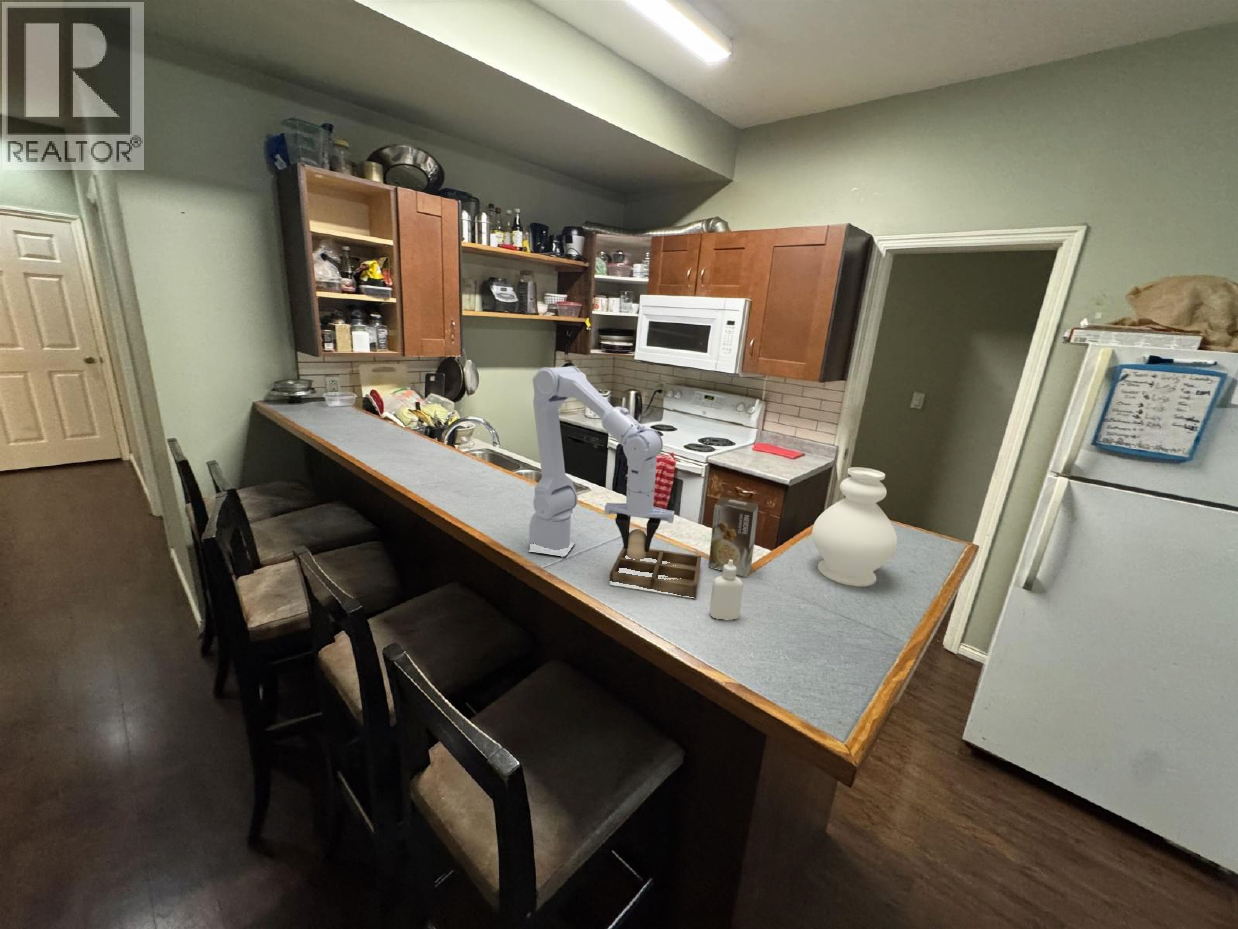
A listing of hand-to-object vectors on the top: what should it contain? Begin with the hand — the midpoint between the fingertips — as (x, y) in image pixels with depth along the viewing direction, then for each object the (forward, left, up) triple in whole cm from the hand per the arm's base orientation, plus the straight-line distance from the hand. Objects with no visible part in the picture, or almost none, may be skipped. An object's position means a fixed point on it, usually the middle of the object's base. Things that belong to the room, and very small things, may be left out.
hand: (636, 548), depth 104 cm
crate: (+4, +3, -8) cm, 9 cm away
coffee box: (+20, +13, -8) cm, 25 cm away
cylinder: (0, 0, -2) cm, 2 cm away
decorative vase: (+47, +19, -8) cm, 52 cm away
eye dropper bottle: (+19, -8, -8) cm, 22 cm away
